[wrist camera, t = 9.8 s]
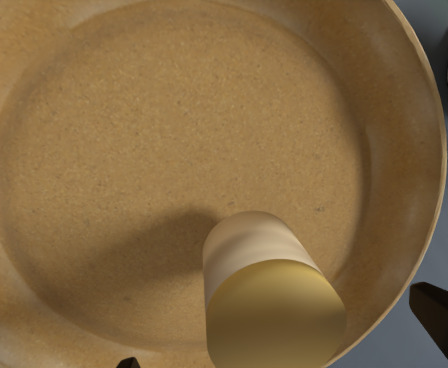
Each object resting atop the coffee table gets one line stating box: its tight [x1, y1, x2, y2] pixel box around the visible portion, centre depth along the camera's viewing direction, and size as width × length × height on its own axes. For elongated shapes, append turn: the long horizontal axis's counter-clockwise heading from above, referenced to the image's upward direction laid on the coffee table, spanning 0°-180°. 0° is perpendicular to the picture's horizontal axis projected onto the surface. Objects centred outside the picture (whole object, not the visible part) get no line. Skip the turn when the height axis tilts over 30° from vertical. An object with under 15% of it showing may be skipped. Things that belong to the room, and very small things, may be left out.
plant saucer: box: [0, 0, 447, 368], centre depth 13 cm, size 24×24×3 cm
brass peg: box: [202, 210, 347, 368], centre depth 10 cm, size 4×4×4 cm
